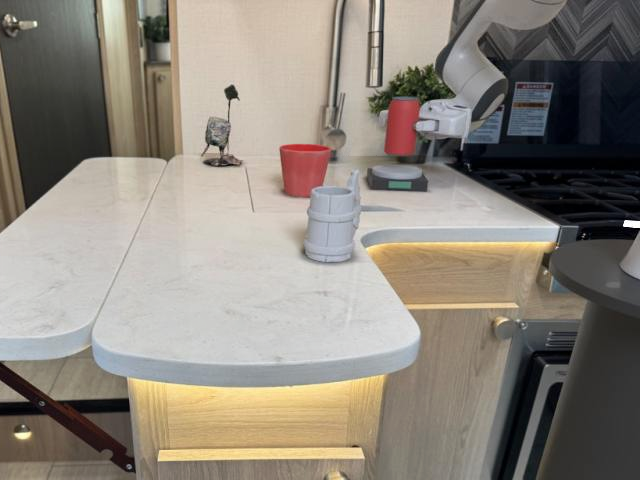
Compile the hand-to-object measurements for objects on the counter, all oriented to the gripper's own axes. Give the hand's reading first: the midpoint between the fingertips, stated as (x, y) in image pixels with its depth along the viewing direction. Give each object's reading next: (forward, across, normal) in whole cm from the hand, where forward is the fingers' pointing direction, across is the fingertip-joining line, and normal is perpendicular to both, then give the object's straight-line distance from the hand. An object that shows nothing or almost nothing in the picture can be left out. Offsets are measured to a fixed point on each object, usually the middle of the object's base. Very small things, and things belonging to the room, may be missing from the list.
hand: (400, 124), depth 122 cm
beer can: (-1, 0, +7) cm, 7 cm away
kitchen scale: (-1, 0, +13) cm, 13 cm away
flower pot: (+22, -7, +13) cm, 27 cm away
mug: (+44, +23, +13) cm, 51 cm away
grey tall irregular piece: (+16, -43, +14) cm, 48 cm away
